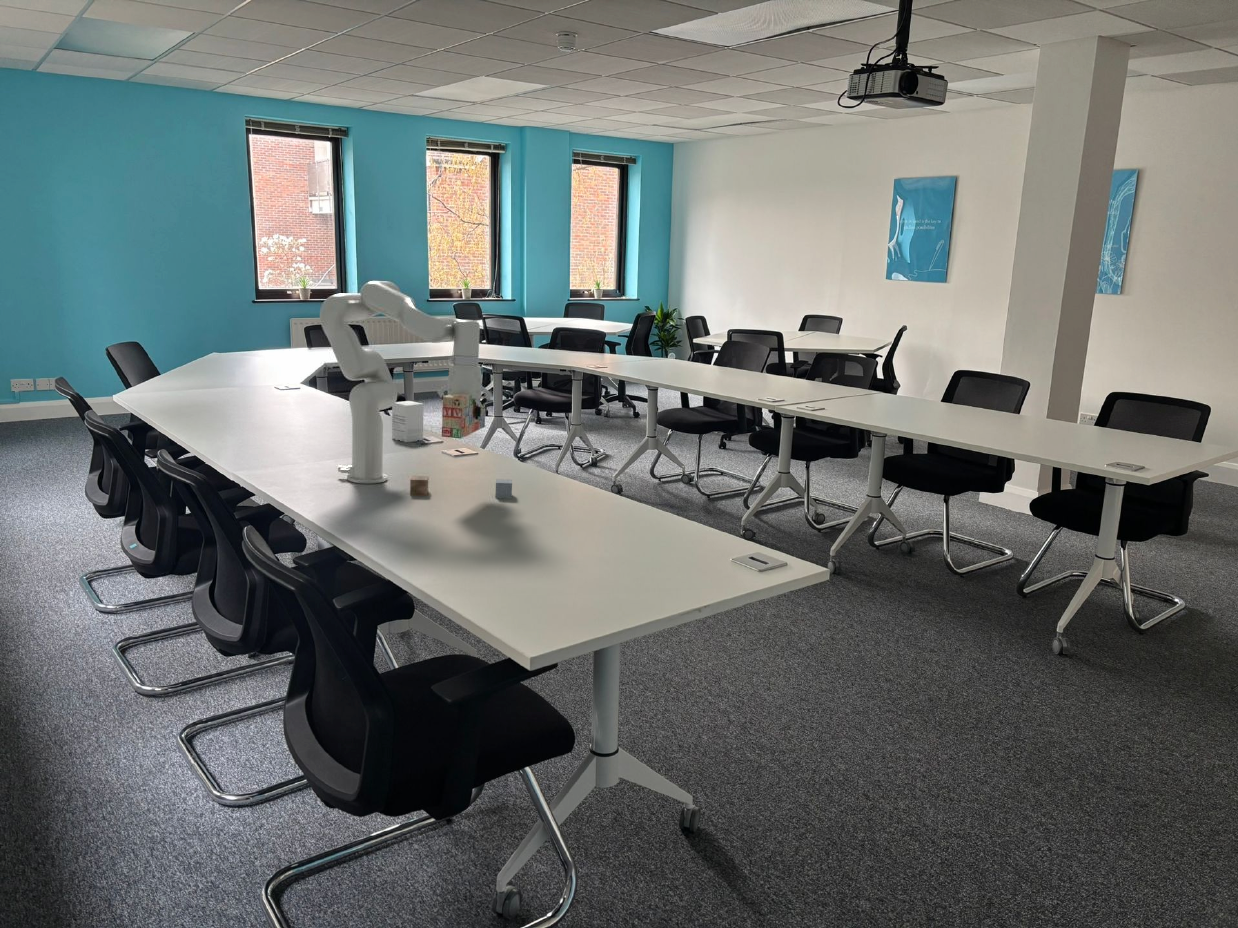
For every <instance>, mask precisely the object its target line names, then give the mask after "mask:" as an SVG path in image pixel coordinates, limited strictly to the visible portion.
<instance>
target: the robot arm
mask: <svg viewBox="0 0 1238 928" xmlns="http://www.w3.org/2000/svg"><path fill="white" fill-rule="evenodd" d="M319 310H320V311H319V321H320V324H321V328H322V330H323V332H324V334H325V336H326V337H327V339H328V342H329V344H330V347H331V349H332V353H333V354H334V356H335V358H336V362H337V363H338V366H339V368H340V371H341V372H342V375H343V376H344V378H346V379H347V380H349V381H362V380H364V382H361V383H359V384H357V385H355V386H354V387H353V388H352V389H351V390H350V393H349V396H348V401H349V407H350V413H351V414H350V415H351V423H352V424H351V432H352V433H351V437H352V438H351V439H352V440H351V441H352V442H351V443H352V444H351V449H352V450H351V455H352V456H351V462H352V463H351V464H350V465H348V466H345V465H338V467H337V469H338V473H340V474H348V475H347V476H346V480H347V481H349V482H352V483H355V484H370V485H371V484H378V483H383V482H386V481H387V480H388V475H387V474H385V473H383V469H384V468H383V467H384V466H383V465H384V464H383V462H384V461H383V459H384V455H383V454H384V453H383V451H384V423H383V418H382V415H381V411H382V410H387V409H389V408H392V406H393V405H394V404H395V402H397V399H398V391H397V388H396V385H395V382H394V379H393V377H392V375H391V373H390V369H388V366H387V363H386V361H385V359H384V358H383V355H382V354H380V353H379V352H378V351H377V350H374V349H370V348H365V349H363V347H362V346H361V345H362V344H361V343H360V340H359V338H358V336H357V333H356V332H355V331H354V329H353V328H352V327H351V326H350V325H349V323H348V321H349V322H350V321H353V322H354V321H364V320H367V319H370V318H372V317H374V316H377V315H383V316H385V317H388V318H390V319H391V320H393V321H395V322H397V323H399V325H400V326H401V327H402V328H404V329H405V330H406V331H407V332H409V333H410V334H411V335H414V336H415V337H418V338H419V339H422V340H424V341H426V342H428V343H432V344H440V343H448V342H449V343H450V342H453V355H448V361H449V362H452V364H450V366H449V370H448V381H447V384H445V385H443V386H442V387H440V388H439V389H438V390H437V391H436V392H437V394H438V395H439V397H440V398H441V400H442V401H443V396H446V395H445V393H444V392H446V391H447V395H449V394H464V395H472V399H475V401H476V403H477V406H476V420H478V417H481V406H482V405H483V404H484V403H485V404H486V403H487V402H488V400H489V399H490V398H491V397H492V396H493V395H492V393H491V392H490V391H489V390H488V389H487V388H485V386H483V384H482V383H483V382H482V380H483V379H482V377H483V376H482V368H481V366H480V365H479V353H480V332H481V331H480V330H481V328H480V326H481V325H480V323H479V321H477V320H474V319H459V318H456V317H451V316H438V317H434V316H431V315H429V314H427V313H425V312H423V311H421V310H419V309H418V308H416V302H415V300H414V299H413V298H412V297H411V296H408V295H407V294H404V293H402V292H401V289H400V288H399V286H397V285H396V284H395V283H393V282H391V281H388V280H387V281H386V280H385V281H384V280H383V281H382V280H372V281H368V282H366V283H364V284H363V286H361V288H360V289H359V293H348V292H347V293H336V294H332V295H330V296H328V297H327V298H326V299H325V300H324V301H323V303H322V304H321V307H320V309H319ZM482 393H484V395H485V396H484V397H483V398H481V397H482ZM480 399H482V400H480Z"/></svg>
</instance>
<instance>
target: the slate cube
mask: <svg viewBox="0 0 1238 928" xmlns="http://www.w3.org/2000/svg"><path fill="white" fill-rule="evenodd" d="M512 492H513V479H508V478H503V479H502V478H496V479H495V497H494V498H495V499H509V500H510V499H512V498H513V497H512V496H513V495H512V494H513V493H512Z"/></svg>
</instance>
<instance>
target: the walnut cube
mask: <svg viewBox="0 0 1238 928" xmlns="http://www.w3.org/2000/svg"><path fill="white" fill-rule="evenodd" d="M409 481H410V483H409V487H410V488H409V496H423V497H425V496H426V497H427V496H428V493H429V476H427V475H411V477H410V480H409Z"/></svg>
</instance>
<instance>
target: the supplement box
mask: <svg viewBox="0 0 1238 928" xmlns="http://www.w3.org/2000/svg"><path fill="white" fill-rule="evenodd" d="M391 411H392V412H391V413H392V414H391V440H394V439H395V440H394V441H398V440H400V441H399V442H402V441H403V443H411V442H412V443H413V442H418V440H419V441H423V440H424V403H422V402H416V401H413V400H412V401H411V400H405V401H396V402H395V404H394V405H393V406H391Z"/></svg>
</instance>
